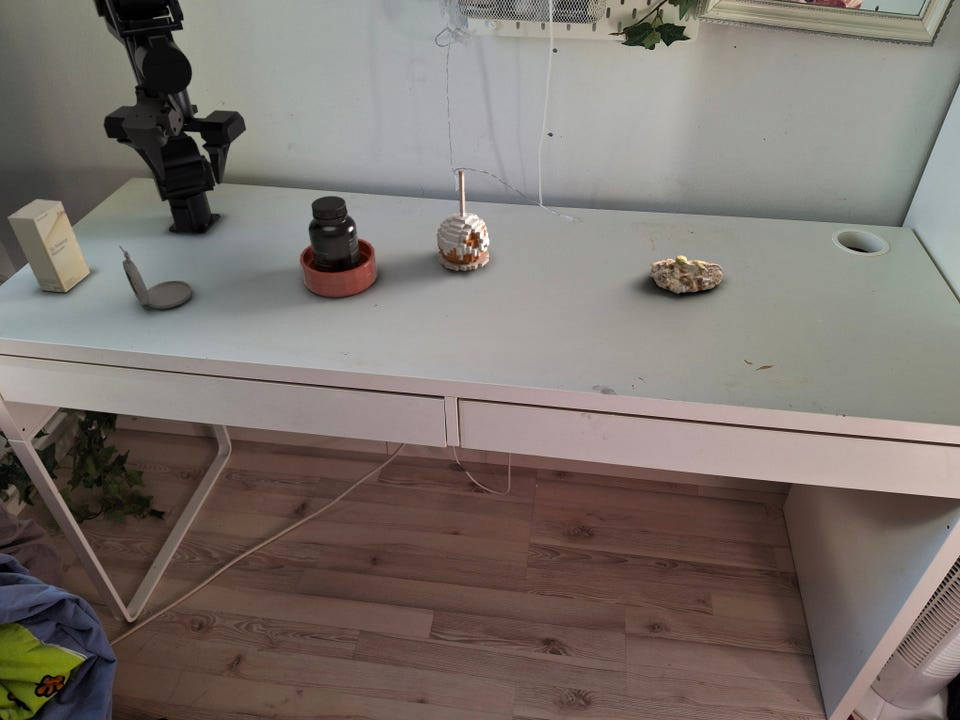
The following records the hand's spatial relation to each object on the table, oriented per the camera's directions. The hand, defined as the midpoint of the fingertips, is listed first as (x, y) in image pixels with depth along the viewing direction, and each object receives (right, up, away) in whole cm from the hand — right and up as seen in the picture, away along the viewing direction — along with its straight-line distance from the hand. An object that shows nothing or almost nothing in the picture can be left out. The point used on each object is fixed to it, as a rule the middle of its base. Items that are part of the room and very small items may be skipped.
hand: (190, 181), depth 106 cm
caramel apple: (+40, -11, +7) cm, 42 cm away
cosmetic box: (-20, -15, +3) cm, 25 cm away
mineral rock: (+74, -15, +1) cm, 75 cm away
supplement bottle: (+22, -14, +3) cm, 26 cm away
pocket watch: (-4, -18, -1) cm, 18 cm away
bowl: (+22, -14, +3) cm, 26 cm away
